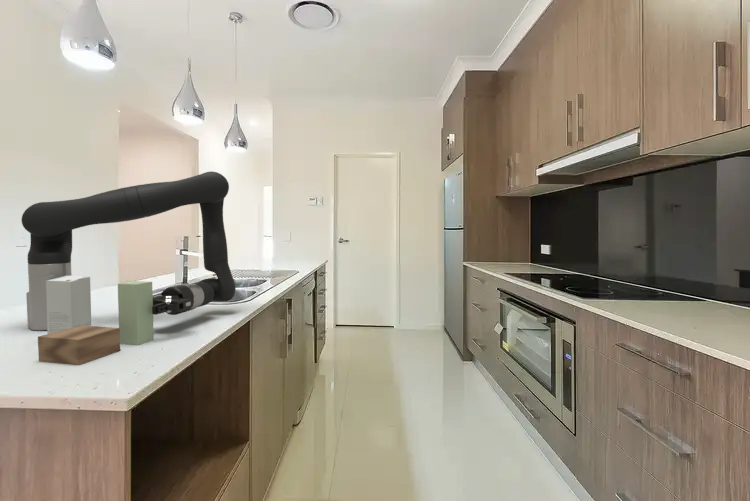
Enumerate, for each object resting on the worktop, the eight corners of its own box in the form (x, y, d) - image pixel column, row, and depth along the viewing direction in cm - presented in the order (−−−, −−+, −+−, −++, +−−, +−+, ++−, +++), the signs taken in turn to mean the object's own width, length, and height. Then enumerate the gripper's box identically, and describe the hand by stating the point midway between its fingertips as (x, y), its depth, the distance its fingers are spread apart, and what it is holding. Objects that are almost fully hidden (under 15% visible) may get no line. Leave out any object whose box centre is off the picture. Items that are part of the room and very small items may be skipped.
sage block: (119, 343, 99) (117, 283, 99) (136, 338, 104) (134, 281, 103) (137, 345, 98) (136, 284, 97) (153, 339, 103) (152, 281, 102)
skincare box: (68, 333, 108) (66, 275, 107) (93, 333, 109) (91, 275, 108) (46, 343, 100) (43, 279, 99) (73, 342, 100) (71, 279, 100)
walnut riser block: (38, 361, 86) (37, 336, 86) (82, 347, 96) (81, 325, 96) (79, 364, 84) (78, 339, 84) (120, 350, 94) (119, 328, 94)
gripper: (160, 283, 119) (112, 292, 103) (205, 285, 115) (163, 295, 100) (160, 310, 119) (113, 323, 103) (206, 313, 116) (164, 326, 100)
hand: (138, 309), depth 101 cm, fingers open, 8 cm apart
